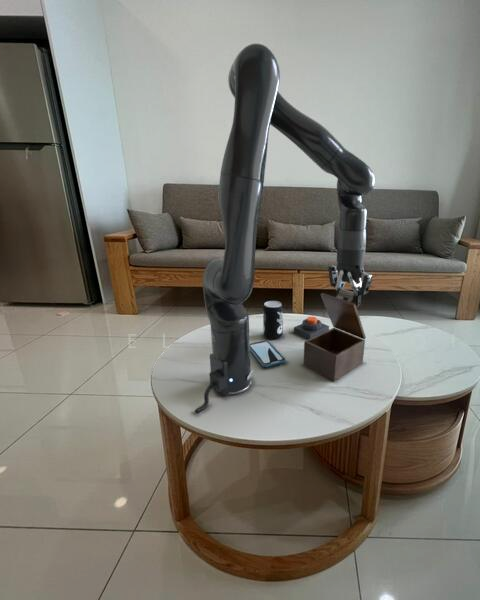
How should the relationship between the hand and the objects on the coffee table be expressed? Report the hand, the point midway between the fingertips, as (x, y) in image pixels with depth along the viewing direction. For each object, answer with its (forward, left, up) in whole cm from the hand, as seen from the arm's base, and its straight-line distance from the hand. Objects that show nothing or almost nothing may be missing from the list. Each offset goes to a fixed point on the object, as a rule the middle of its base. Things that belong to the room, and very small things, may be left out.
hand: (347, 304), depth 92 cm
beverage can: (-6, +26, -18) cm, 32 cm away
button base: (+6, +19, -18) cm, 27 cm away
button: (+6, +19, -14) cm, 25 cm away
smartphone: (-16, +18, -18) cm, 30 cm away
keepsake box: (-5, 0, -18) cm, 19 cm away
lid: (-2, 0, -3) cm, 4 cm away
